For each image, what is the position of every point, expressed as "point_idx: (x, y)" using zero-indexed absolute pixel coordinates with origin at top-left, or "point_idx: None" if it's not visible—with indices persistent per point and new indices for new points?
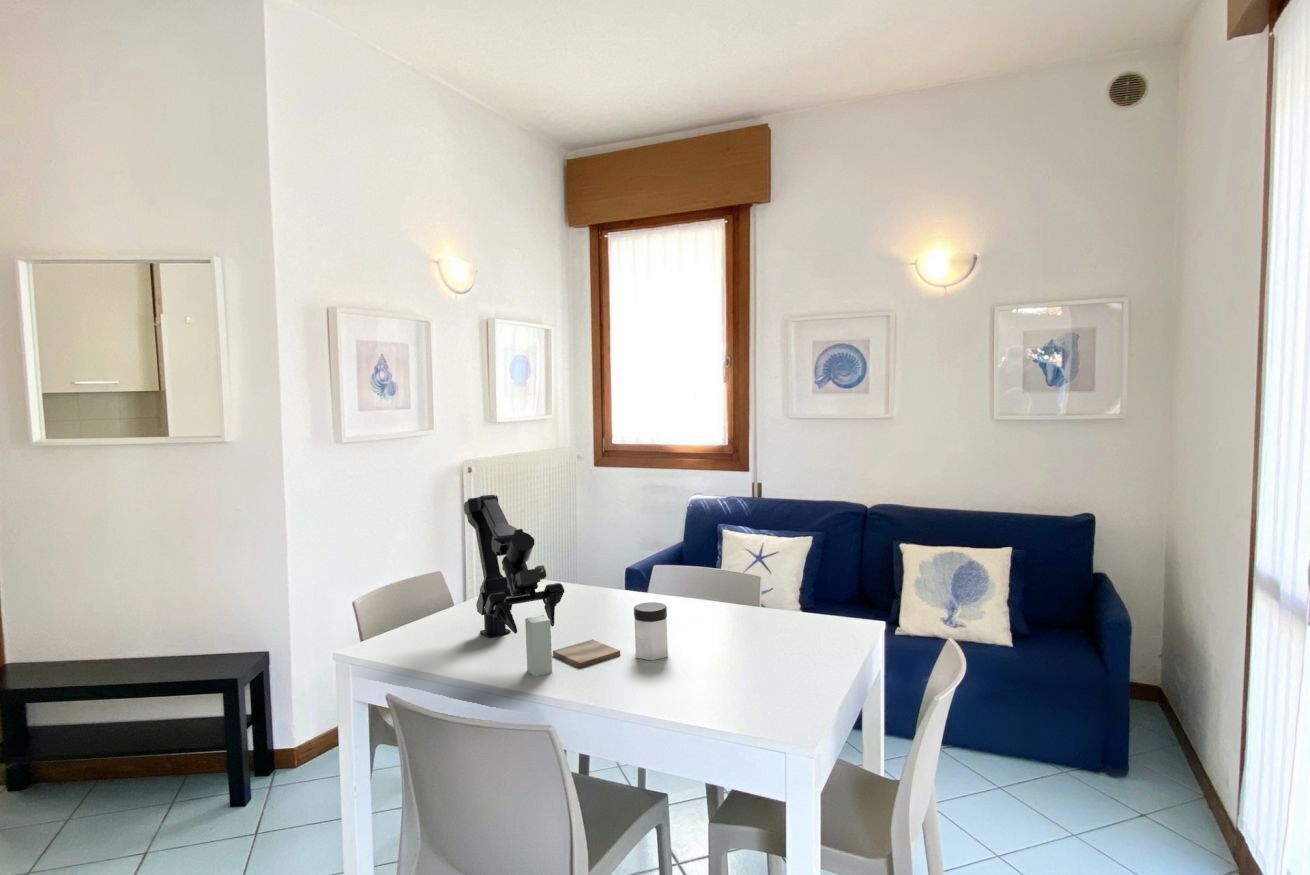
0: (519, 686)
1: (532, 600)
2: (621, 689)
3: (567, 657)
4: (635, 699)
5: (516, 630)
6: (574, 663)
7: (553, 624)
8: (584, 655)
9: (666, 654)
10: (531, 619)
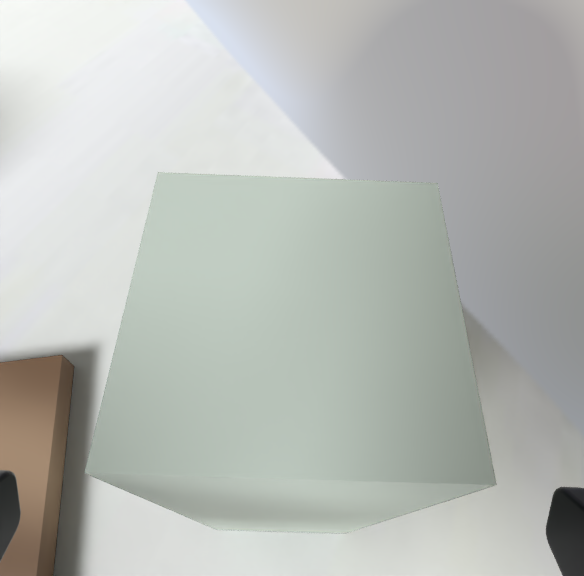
0: None
1: None
2: (111, 102)
3: (45, 505)
4: (132, 41)
5: (574, 492)
6: (63, 418)
7: (3, 471)
8: None
9: None
10: (398, 335)
